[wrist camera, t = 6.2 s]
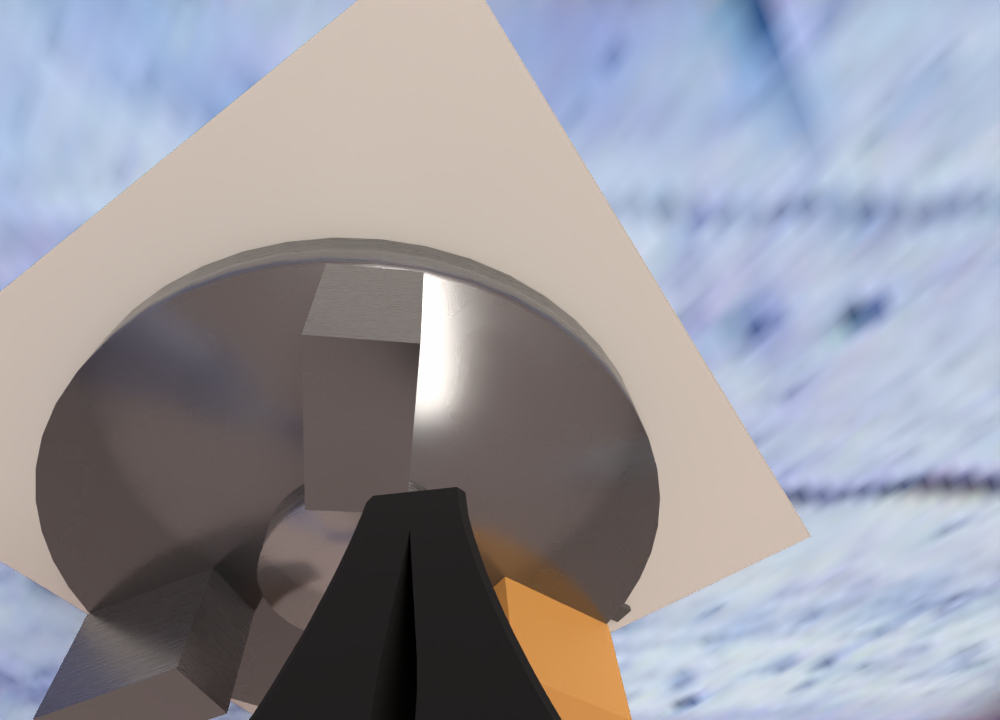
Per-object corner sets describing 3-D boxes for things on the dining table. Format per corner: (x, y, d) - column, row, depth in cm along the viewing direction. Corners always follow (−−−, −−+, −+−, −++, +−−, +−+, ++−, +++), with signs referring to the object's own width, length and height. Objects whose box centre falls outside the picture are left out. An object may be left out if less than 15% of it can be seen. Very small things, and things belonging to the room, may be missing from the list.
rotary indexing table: (585, 675, 25) (613, 813, 21) (116, 670, 23) (48, 822, 19) (713, 270, 17) (798, 371, 13) (-1, 202, 15) (-163, 299, 11)
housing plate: (339, 727, 28) (334, 769, 27) (-147, 411, 19) (-196, 450, 17) (790, 503, 23) (813, 540, 22) (442, -69, 14) (442, -70, 13)
